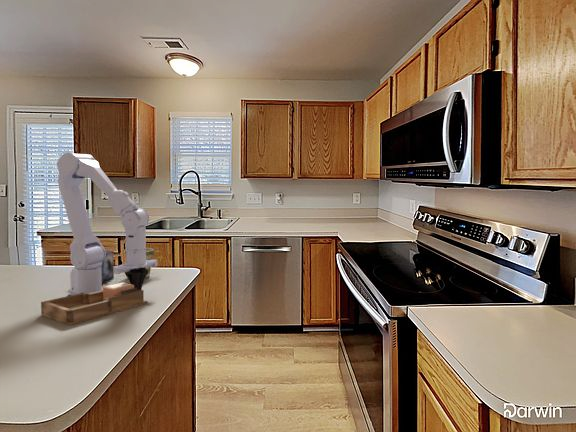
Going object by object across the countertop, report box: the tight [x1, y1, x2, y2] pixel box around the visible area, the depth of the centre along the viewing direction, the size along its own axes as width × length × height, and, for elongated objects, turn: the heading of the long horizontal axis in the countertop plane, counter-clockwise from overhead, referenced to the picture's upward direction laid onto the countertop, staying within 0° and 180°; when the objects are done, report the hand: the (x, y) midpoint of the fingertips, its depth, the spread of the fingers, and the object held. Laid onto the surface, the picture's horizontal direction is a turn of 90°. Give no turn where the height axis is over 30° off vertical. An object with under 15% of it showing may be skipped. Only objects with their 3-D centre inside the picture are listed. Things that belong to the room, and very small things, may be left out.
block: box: [102, 281, 134, 300], centre depth 130 cm, size 5×7×5 cm
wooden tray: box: [40, 288, 149, 326], centre depth 125 cm, size 13×24×4 cm, turn 146°
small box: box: [101, 249, 115, 284], centre depth 156 cm, size 11×6×10 cm, turn 168°
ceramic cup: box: [125, 247, 162, 279], centre depth 165 cm, size 13×10×10 cm
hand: (136, 293), depth 136 cm, fingers closed
